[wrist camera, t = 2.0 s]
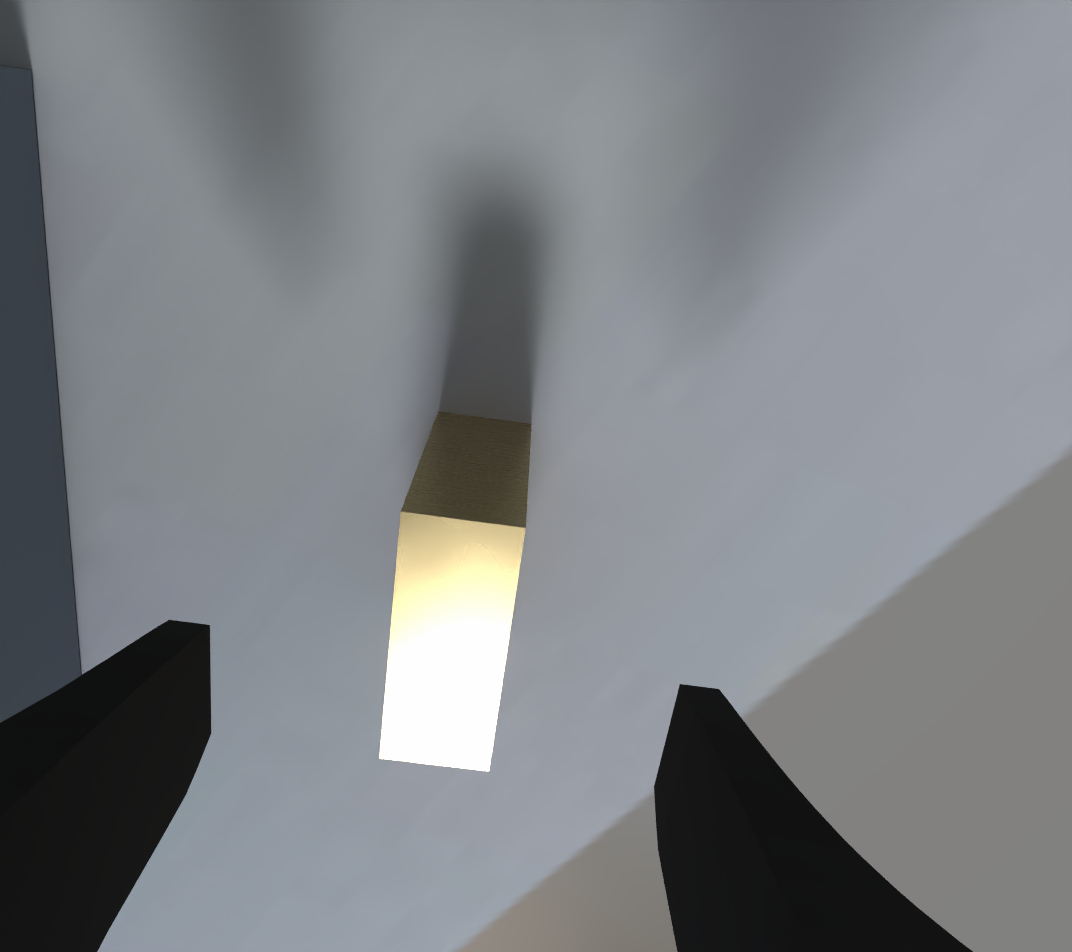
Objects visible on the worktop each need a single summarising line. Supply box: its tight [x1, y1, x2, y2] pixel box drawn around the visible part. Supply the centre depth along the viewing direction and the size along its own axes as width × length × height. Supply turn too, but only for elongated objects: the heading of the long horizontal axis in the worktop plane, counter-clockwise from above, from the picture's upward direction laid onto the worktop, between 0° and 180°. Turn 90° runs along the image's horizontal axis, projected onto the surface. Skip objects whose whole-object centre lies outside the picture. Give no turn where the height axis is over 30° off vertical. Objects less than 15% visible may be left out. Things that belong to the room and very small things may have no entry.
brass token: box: [380, 412, 531, 771], centre depth 17 cm, size 5×2×5 cm, turn 172°
